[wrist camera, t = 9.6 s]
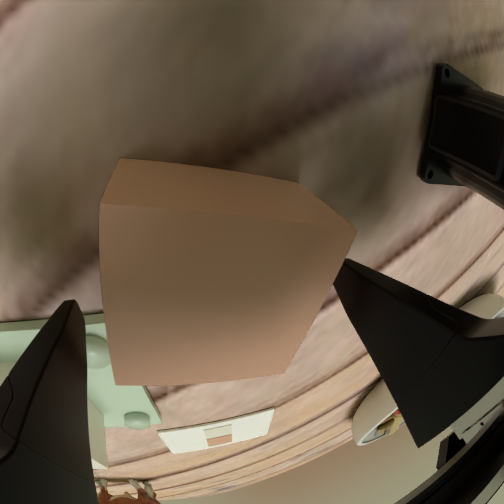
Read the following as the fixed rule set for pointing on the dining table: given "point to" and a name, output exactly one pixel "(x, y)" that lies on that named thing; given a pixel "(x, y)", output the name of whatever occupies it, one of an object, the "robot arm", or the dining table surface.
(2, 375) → the cream brick
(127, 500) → the bull figurine
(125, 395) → the plate
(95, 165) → the dining table surface
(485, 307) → the bowl
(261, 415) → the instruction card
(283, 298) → the terracotta brick
